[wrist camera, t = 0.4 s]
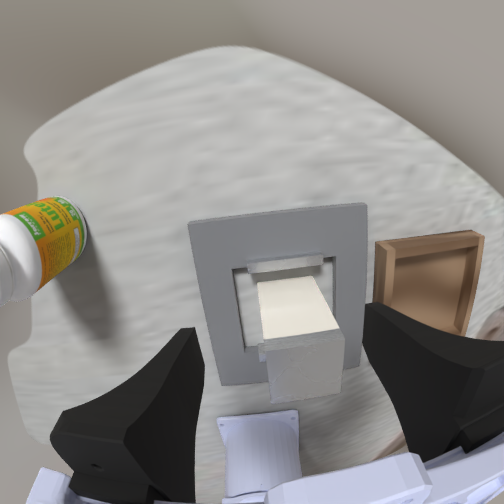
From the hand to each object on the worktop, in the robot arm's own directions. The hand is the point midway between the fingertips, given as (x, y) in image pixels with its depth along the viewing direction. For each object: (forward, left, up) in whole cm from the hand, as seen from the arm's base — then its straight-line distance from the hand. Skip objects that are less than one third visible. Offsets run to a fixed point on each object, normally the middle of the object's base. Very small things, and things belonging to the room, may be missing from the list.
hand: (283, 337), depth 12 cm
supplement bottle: (+4, +15, -10) cm, 19 cm away
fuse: (-4, -1, -10) cm, 10 cm away
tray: (-5, -13, -9) cm, 17 cm away
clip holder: (-4, -1, -9) cm, 10 cm away
